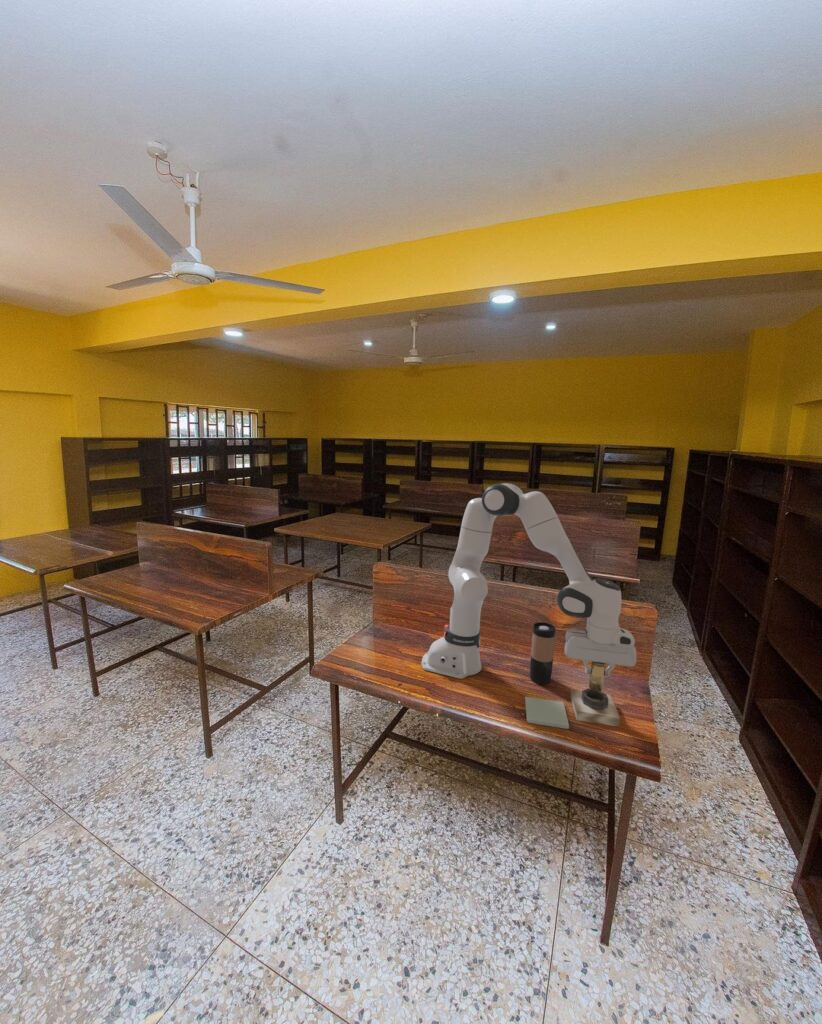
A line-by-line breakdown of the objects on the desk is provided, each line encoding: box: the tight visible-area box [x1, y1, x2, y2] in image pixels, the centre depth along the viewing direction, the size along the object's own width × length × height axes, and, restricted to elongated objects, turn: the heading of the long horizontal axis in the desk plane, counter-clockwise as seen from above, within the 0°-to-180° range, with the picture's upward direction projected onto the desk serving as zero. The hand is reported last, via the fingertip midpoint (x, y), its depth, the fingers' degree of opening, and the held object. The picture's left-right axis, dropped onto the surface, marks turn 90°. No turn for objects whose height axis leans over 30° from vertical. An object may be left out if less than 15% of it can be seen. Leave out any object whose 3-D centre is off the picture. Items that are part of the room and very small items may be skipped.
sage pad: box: [524, 696, 570, 730], centre depth 130 cm, size 12×12×1 cm
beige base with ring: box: [570, 687, 621, 727], centre depth 132 cm, size 12×12×6 cm
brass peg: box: [588, 661, 607, 692], centre depth 130 cm, size 4×4×9 cm
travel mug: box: [529, 621, 556, 686], centre depth 148 cm, size 8×8×20 cm
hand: (597, 674), depth 130 cm, fingers closed on brass peg, 4 cm apart
